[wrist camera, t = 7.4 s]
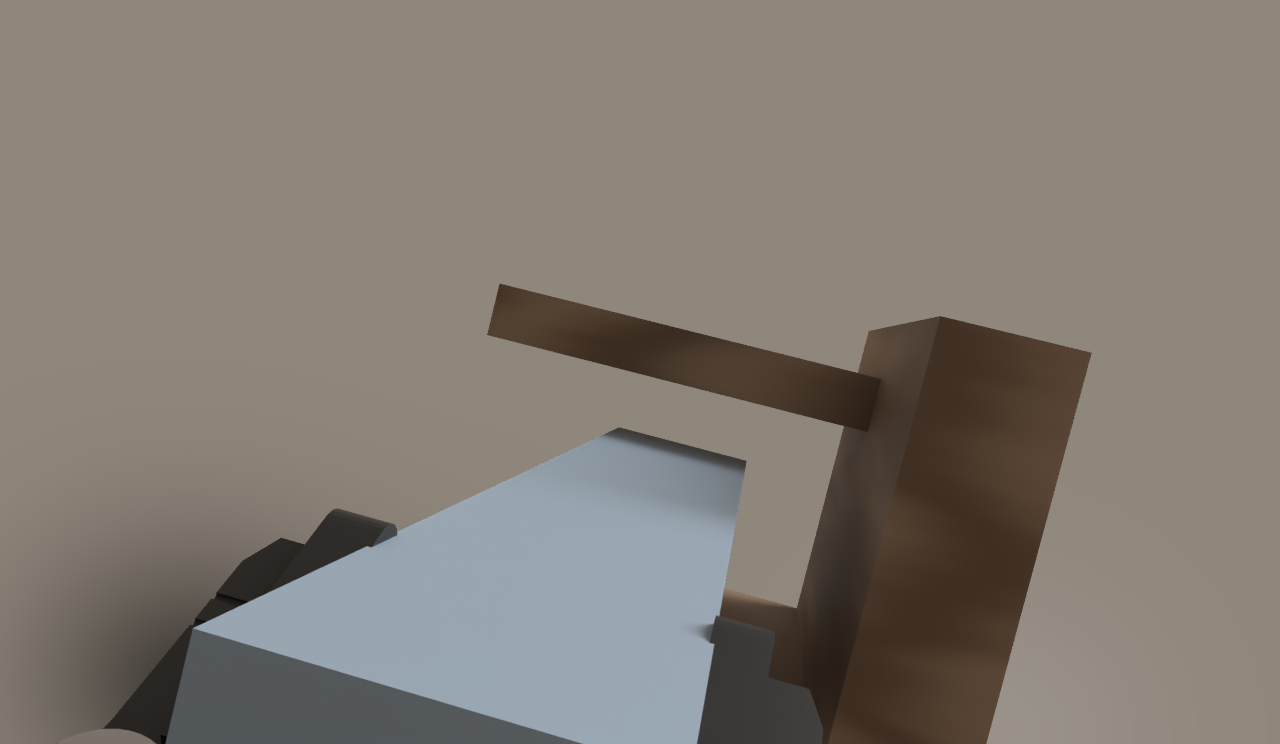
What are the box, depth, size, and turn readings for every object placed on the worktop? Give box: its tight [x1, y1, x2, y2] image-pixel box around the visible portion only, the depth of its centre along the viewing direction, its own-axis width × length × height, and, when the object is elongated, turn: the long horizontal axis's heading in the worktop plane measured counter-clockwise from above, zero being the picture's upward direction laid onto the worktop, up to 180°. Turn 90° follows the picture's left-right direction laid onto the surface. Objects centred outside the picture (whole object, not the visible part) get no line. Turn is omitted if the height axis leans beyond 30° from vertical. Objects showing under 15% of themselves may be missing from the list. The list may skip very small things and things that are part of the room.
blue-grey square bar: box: [166, 428, 746, 744], centre depth 21 cm, size 4×25×4 cm, turn 173°
